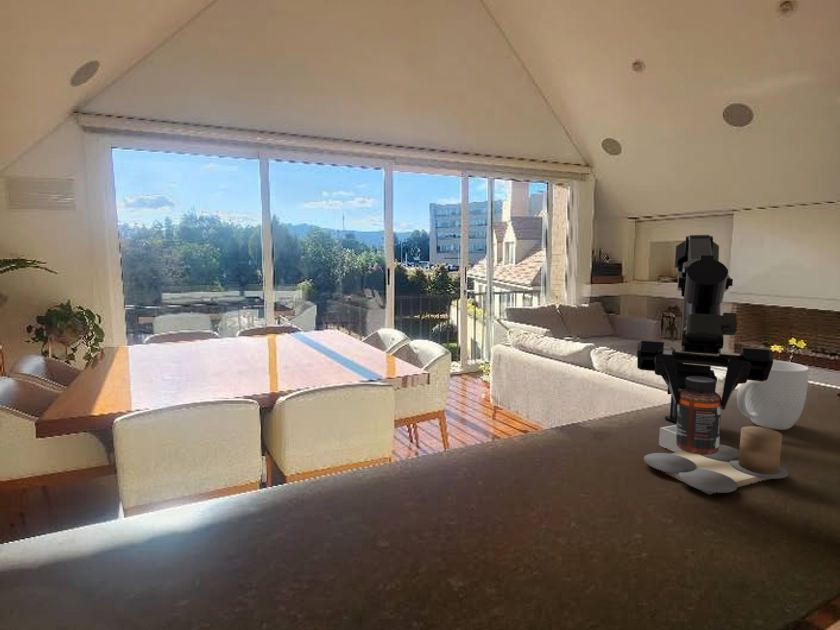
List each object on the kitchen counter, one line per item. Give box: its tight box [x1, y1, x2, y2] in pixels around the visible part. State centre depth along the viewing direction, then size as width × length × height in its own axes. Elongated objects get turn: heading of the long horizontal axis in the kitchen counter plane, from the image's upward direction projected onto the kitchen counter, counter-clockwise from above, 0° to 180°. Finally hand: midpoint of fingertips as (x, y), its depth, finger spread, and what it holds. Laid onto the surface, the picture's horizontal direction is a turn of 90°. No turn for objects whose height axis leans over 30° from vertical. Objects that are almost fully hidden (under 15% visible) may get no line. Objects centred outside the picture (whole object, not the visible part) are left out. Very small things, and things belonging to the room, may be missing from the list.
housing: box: [658, 424, 684, 453], centre depth 95 cm, size 5×8×4 cm, turn 113°
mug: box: [736, 359, 810, 431], centre depth 106 cm, size 15×11×13 cm
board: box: [643, 425, 789, 495], centre depth 84 cm, size 15×20×7 cm
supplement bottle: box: [676, 376, 722, 455], centre depth 78 cm, size 6×6×11 cm
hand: (699, 405), depth 77 cm, fingers closed on supplement bottle, 6 cm apart
